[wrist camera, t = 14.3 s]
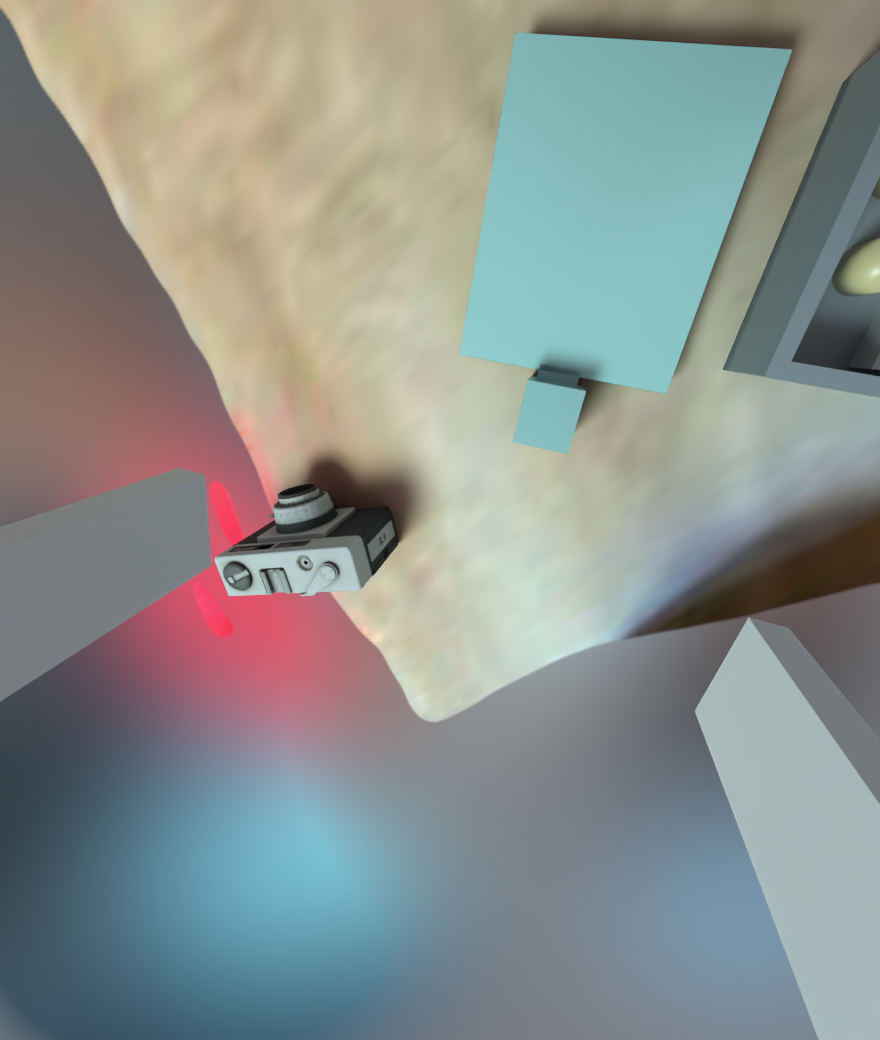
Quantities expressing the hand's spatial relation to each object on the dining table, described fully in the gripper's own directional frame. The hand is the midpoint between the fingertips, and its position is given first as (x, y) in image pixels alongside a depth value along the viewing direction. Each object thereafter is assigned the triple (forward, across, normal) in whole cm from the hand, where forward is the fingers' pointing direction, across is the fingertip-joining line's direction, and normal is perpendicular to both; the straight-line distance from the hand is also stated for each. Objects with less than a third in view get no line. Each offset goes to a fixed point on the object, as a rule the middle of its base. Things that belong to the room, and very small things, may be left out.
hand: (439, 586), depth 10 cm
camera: (+29, -17, -14) cm, 36 cm away
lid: (+29, +2, +10) cm, 31 cm away
